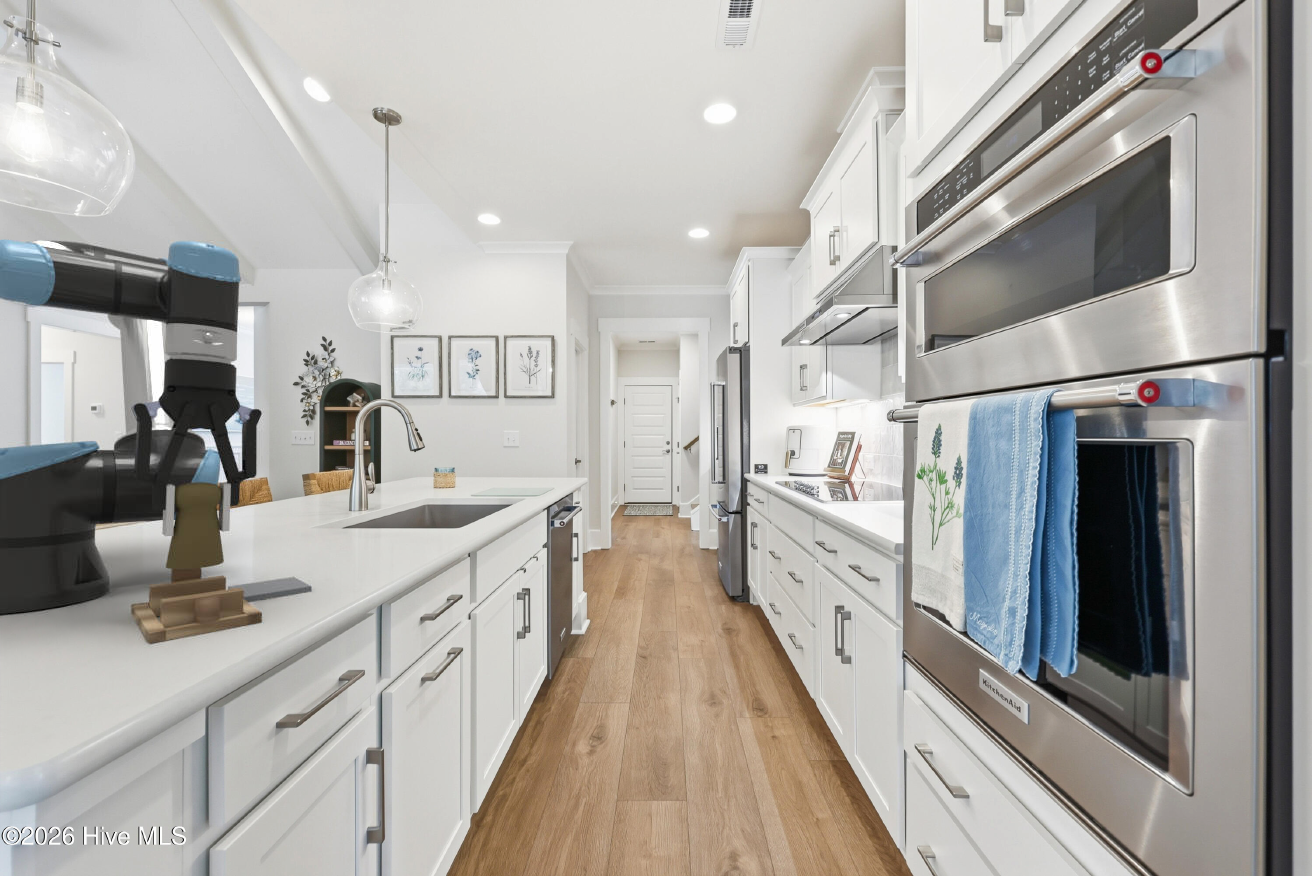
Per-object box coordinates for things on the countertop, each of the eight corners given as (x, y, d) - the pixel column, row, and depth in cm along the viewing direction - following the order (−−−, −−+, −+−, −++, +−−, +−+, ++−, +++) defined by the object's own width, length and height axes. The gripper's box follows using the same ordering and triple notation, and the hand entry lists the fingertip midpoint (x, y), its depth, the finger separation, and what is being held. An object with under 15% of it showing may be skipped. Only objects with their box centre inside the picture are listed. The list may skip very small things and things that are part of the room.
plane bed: (131, 613, 75) (132, 569, 75) (230, 597, 84) (231, 558, 84) (148, 643, 64) (150, 592, 64) (261, 622, 72) (262, 576, 72)
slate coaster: (227, 591, 87) (228, 586, 87) (293, 581, 94) (293, 576, 94) (242, 602, 81) (242, 597, 81) (311, 591, 88) (311, 586, 88)
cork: (190, 570, 71) (193, 485, 71) (153, 567, 72) (155, 483, 72) (235, 561, 77) (237, 482, 77) (200, 557, 78) (202, 480, 78)
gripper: (110, 348, 65) (103, 544, 65) (288, 366, 79) (283, 529, 79) (104, 353, 70) (98, 536, 70) (273, 370, 84) (268, 522, 84)
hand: (196, 532), depth 74 cm, fingers closed on cork, 5 cm apart
